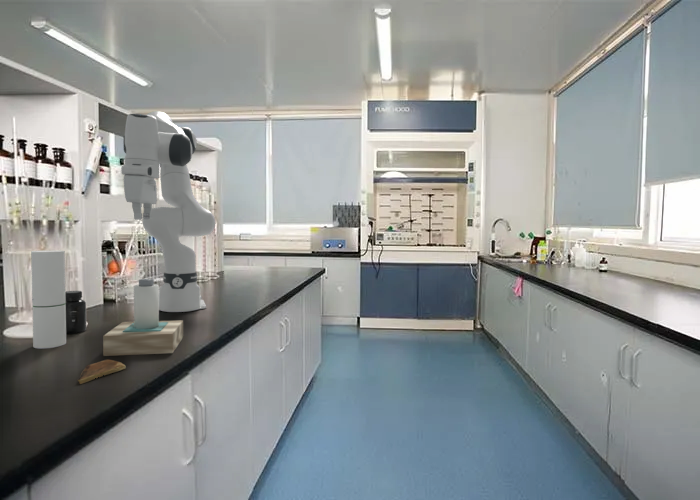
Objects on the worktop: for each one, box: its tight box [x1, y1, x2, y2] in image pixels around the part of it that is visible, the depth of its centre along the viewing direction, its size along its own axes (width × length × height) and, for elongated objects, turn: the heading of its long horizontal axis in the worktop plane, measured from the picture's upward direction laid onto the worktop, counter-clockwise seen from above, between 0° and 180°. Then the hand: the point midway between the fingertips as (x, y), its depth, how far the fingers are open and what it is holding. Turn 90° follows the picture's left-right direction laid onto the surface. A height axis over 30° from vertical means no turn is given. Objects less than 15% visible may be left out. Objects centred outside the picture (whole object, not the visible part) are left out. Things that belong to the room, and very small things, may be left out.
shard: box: [77, 358, 127, 385], centre depth 90 cm, size 11×8×2 cm
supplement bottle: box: [65, 290, 87, 335], centre depth 123 cm, size 7×7×12 cm
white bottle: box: [133, 278, 160, 329], centre depth 110 cm, size 6×6×13 cm
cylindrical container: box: [30, 249, 67, 350], centre depth 109 cm, size 7×7×25 cm
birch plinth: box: [102, 319, 184, 357], centre depth 111 cm, size 15×16×5 cm
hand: (142, 219), depth 119 cm, fingers open, 8 cm apart
